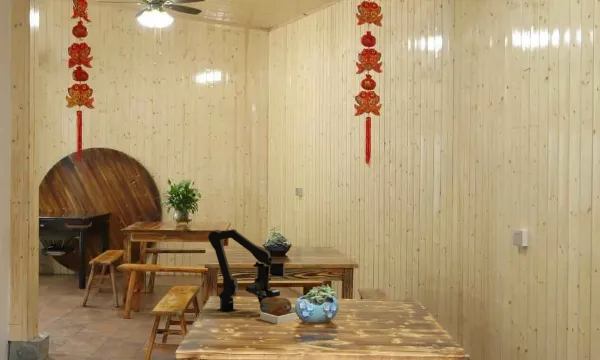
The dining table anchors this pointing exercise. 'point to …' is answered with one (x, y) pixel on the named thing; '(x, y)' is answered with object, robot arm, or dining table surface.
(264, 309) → the tin
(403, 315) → the dining table surface
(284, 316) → the shelf slot
